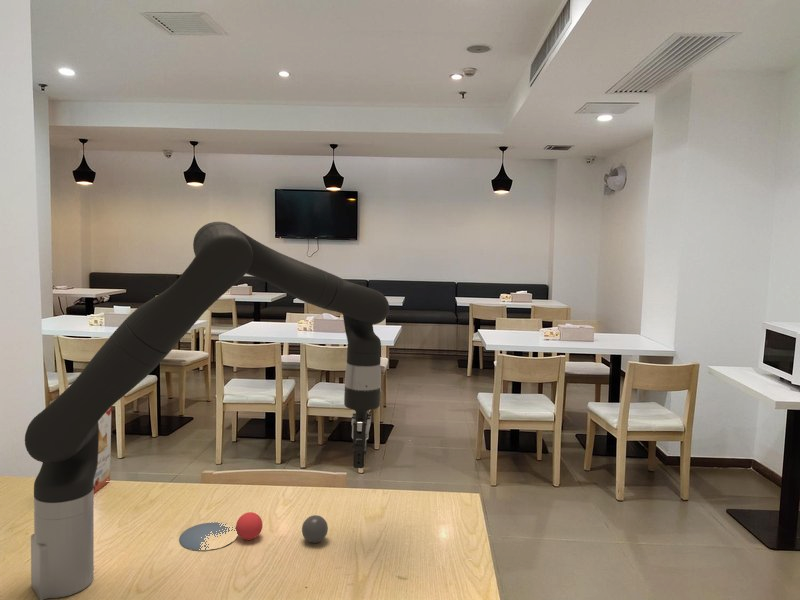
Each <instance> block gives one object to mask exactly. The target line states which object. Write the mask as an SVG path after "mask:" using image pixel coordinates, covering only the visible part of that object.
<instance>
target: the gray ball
mask: <svg viewBox="0 0 800 600" xmlns="http://www.w3.org/2000/svg"><path fill="white" fill-rule="evenodd" d="M328 531H329V526H328V522H327V521H326V519H325V518H324V517H323V516H321V515H315V514H312V515H311V516H309V517H307V518H305V520H304V521H303V523H302V527H301V532H302V536H303V538H304V539H305V540H306V541H307V542H309V543H311V542H317V543H320V542H322V541H323V540H324V539H325V538H326V536H327V535H328ZM321 540H322V541H321ZM319 541H320V542H319Z"/></svg>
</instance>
